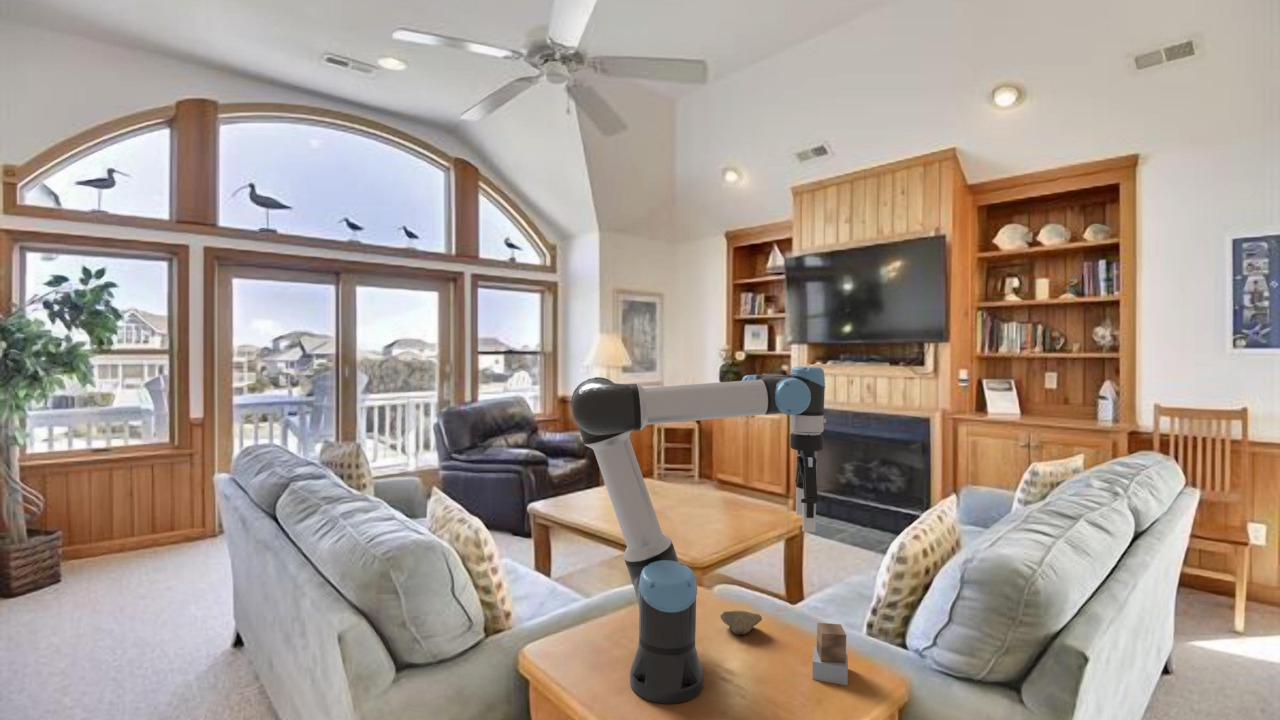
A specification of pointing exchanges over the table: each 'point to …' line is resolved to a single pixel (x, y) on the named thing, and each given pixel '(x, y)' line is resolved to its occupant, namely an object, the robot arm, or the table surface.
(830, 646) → the walnut block
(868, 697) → the table surface
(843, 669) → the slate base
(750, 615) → the fossil
